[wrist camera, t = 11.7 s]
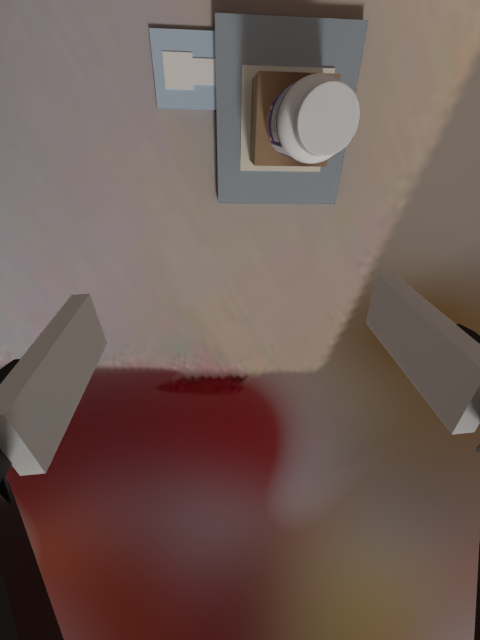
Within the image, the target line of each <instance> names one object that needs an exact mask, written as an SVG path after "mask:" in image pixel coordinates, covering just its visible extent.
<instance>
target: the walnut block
mask: <svg viewBox="0 0 480 640" xmlns="http://www.w3.org/2000/svg"><path fill="white" fill-rule="evenodd" d="M311 74H315V73H306V72H279V71H258V72H257V73H256V75H255V76H254V77H253V79H252V103H251V134H250V161H251V162H252V164H253V165H254V166H314V167H327V161H328V159H327V160H325V161H323V162H319V163H315V164H307V163H302V162H299V161H296V160H294V159H291V158H289V157H286V156H284V155H282V154H280V153H279V152H278V151H276V150H275V149H274V148H273V146H272V145H271V143H270V141H269V139H268V136H267V132H266V117H267V112H268V109H269V107H270V105H271V103H272V101H273V100H274V98H275V97H276V96H277V95H278V94H279V93H280V92H281V91H282V90H283V89H285V88H286V87H288V86H290V85H292V84H293V83H295V82H297V81H298V80H300V79H302V78H304V77H306V76H308V75H311ZM327 74H331V75H333V76H335V77H337V78H338V79H340V78H341V74H334V73H327Z"/></svg>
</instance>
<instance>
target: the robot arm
mask: <svg viewBox="0 0 480 640" xmlns="http://www.w3.org/2000/svg"><path fill="white" fill-rule="evenodd" d="M366 324H367V325H368V326H369V328H370V329H371V330H372V332H373V333H374V334H375V335H376V337H377V338H378V339H379V341H380V342H381V343H382V344H383V346H384V347H385V348H386V350H387V351H388V352H389V354H390V355H391V356H392V357H393V359H394V360H395V361H396V363H397V364H398V365H399V367H400V368H401V369H402V370H403V372H404V373H405V374H406V376H407V377H408V378H409V379H410V381H411V382H412V383H413V385H414V386H415V387H416V389H417V390H418V391H419V393H420V394H421V395H422V396H423V398H424V399H425V400H426V402H427V403H428V404H429V406H430V407H431V408H432V409H433V411H434V412H435V413H436V415H437V416H438V417H439V418H440V420H441V421H442V422H443V424H444V425H445V426H446V428H447V429H448V430H449V432H450V433H451V434H461V433H471V432H474V431H475V430H476V428H477V426H478V425H479V423H480V336H479V335H478V334H477V333H476V332H474V331H473V330H471V329H468V328H466V327H464V326H462V325H460V324H455V323H453V322H452V321H451V320H450V319H449V318H448V317H446V316H445V315H444V314H443V313H441V312H440V311H439V310H438V309H437V308H435V307H434V306H433V305H432V304H430V303H429V302H428V301H427V300H426V299H425V298H423V297H422V296H421V295H420V294H419V293H417V292H416V291H415V290H414V289H412V288H411V287H410V286H409V285H408V284H406V283H405V282H404V281H403V280H402V279H400V278H399V277H398V276H397V275H396V274H394V273H385V274H378V275H377V278H376V283H375V287H374V291H373V295H372V300H371V304H370V308H369V312H368V317H367V321H366ZM106 344H107V341H106V339H105V336H104V333H103V330H102V327H101V324H100V322H99V319H98V316H97V313H96V310H95V307H94V305H93V302H92V299H91V296H90V294H78V295H72V296H71V297H70V298H69V299H68V301H67V302H66V303H65V304H64V306H63V307H62V308H61V309H60V311H59V312H58V313H57V314H56V315H55V317H54V318H53V319H52V320H51V322H50V323H49V324H48V325H47V327H46V328H45V329H44V330H43V332H42V333H41V334H40V335H39V337H38V338H37V339H36V340H35V342H34V343H33V344H32V345H31V347H30V348H29V349H28V350H27V352H26V353H25V354H24V355H23V357H22V358H21V359H15V360H13V361H11V362H10V363H8V364H7V365H6V366H4V367H3V368H2V369H0V640H64V639H63V636H62V633H61V630H60V627H59V625H58V622H57V619H56V616H55V613H54V610H53V607H52V604H51V601H50V599H49V596H48V593H47V590H46V587H45V584H44V581H43V578H42V576H41V573H40V570H39V567H38V564H37V561H36V558H35V555H34V552H33V549H32V547H31V544H30V541H29V538H28V535H27V532H26V529H25V526H24V524H23V521H22V518H21V515H20V512H19V509H18V506H17V503H16V500H15V497H14V495H13V492H12V489H11V486H10V483H9V482H8V481H7V479H6V478H5V475H6V474H7V472H8V470H9V469H10V467H11V465H12V466H13V467H14V468H15V470H16V471H17V472H18V473H19V475H20V476H21V475H32V474H43V473H46V471H47V469H48V467H49V465H50V463H51V461H52V459H53V456H54V454H55V452H56V450H57V448H58V446H59V444H60V442H61V439H62V437H63V435H64V433H65V431H66V429H67V427H68V425H69V422H70V420H71V418H72V416H73V414H74V411H75V410H76V408H77V405H78V403H79V401H80V399H81V397H82V395H83V393H84V390H85V389H86V386H87V384H88V382H89V380H90V378H91V376H92V373H93V372H94V369H95V367H96V365H97V363H98V361H99V359H100V357H101V355H102V352H103V350H104V348H105V346H106ZM476 451H478V452H480V444H479V446H478V447H477V450H476ZM477 582H478V583H477V600H476V617H475V635H474V640H480V544H479V562H478V581H477Z"/></svg>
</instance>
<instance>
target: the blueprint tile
mask: <svg viewBox="0 0 480 640" xmlns="http://www.w3.org/2000/svg"><path fill="white" fill-rule="evenodd" d="M149 33H150V42H151V52H152V61H153V71H154V80H155V90H156V99H157V108H161V109H198V110H216V56H215V31H208V30H186V29H164V28H149Z"/></svg>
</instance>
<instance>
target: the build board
mask: <svg viewBox="0 0 480 640" xmlns="http://www.w3.org/2000/svg"><path fill="white" fill-rule="evenodd" d="M367 26H368V20H354V19H334V18H313V17H293V16H273V15H252V14H232V13H215V56H216V111H217V165H218V203H242V204H335V202H336V196H337V191H338V185H339V180H340V174H341V169H342V163H343V158H344V152H345V148H343V149H342V150H341V151H339V152H338V153H336V154H335V155H333V156H332V157H330V158H329V159H328V161H327V167H314V166H254V165H253V164H252V162H251V161H250V134H251V103H252V79H253V77H254V76H255V75H256V73H257V72H258V71H279V72H306V73H334V74H341V78H340V80H341V81H342V82H343V83H345V84H347V85H348V86H349V87H350V88H351V89H352V90H353V91H354V92H356V86H357V81H358V75H359V70H360V64H361V59H362V53H363V48H364V42H365V37H366V31H367Z"/></svg>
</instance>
